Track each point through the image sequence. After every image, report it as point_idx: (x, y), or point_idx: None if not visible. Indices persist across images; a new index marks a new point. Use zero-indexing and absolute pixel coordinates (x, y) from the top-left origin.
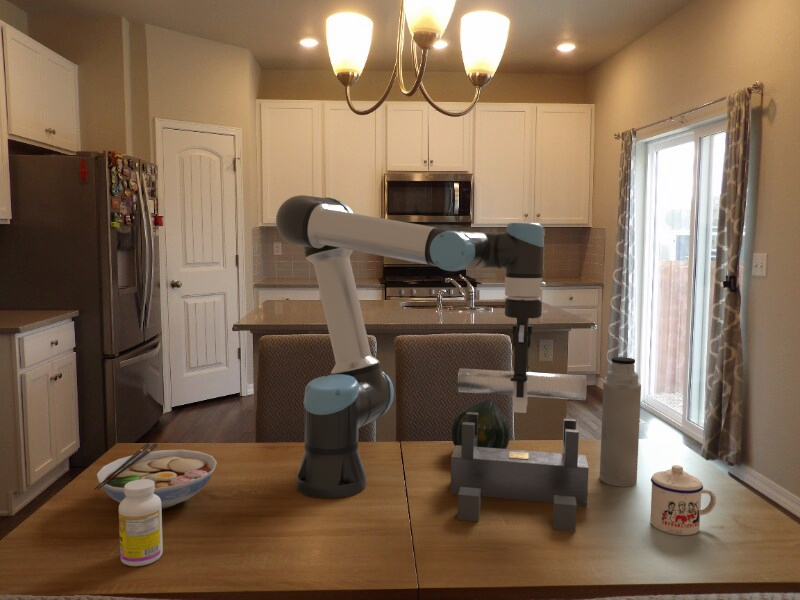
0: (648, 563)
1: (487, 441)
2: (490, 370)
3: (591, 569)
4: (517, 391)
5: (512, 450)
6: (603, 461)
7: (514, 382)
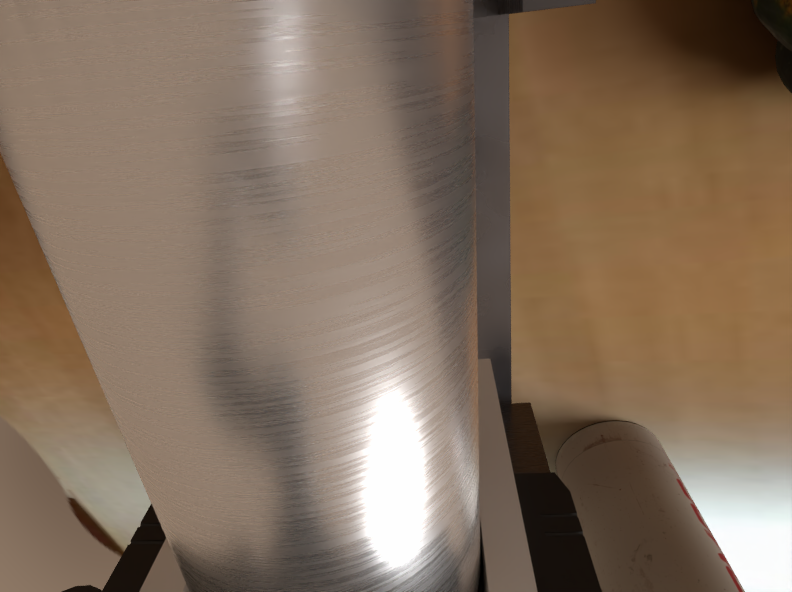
0: (136, 483)
1: (777, 24)
2: (222, 400)
3: (41, 396)
4: (136, 538)
5: (495, 214)
6: (605, 475)
7: (147, 589)
